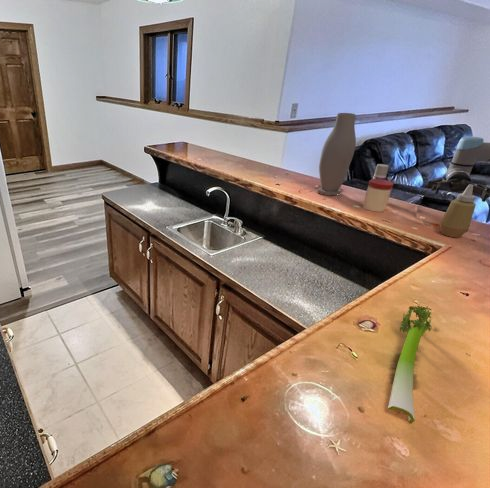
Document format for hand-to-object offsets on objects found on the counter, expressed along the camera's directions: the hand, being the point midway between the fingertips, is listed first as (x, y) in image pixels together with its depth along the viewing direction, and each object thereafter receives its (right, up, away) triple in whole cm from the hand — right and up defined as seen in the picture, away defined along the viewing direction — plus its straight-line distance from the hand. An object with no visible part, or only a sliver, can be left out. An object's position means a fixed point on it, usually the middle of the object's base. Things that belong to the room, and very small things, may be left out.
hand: (460, 194), depth 125 cm
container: (-12, +2, +32) cm, 34 cm away
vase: (-29, +6, +38) cm, 49 cm away
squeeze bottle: (-5, -15, -2) cm, 16 cm away
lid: (-18, +7, +16) cm, 25 cm away
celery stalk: (-58, -41, -57) cm, 91 cm away
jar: (-19, -3, +21) cm, 28 cm away
